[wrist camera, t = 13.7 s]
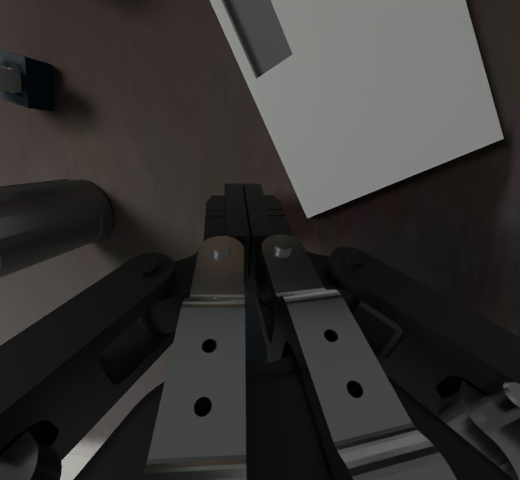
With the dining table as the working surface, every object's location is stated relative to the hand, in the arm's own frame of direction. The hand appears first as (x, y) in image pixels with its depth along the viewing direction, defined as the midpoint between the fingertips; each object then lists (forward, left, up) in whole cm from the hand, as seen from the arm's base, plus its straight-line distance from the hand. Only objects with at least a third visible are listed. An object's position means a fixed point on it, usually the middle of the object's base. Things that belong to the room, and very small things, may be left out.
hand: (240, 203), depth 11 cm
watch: (-36, -4, -20) cm, 42 cm away
